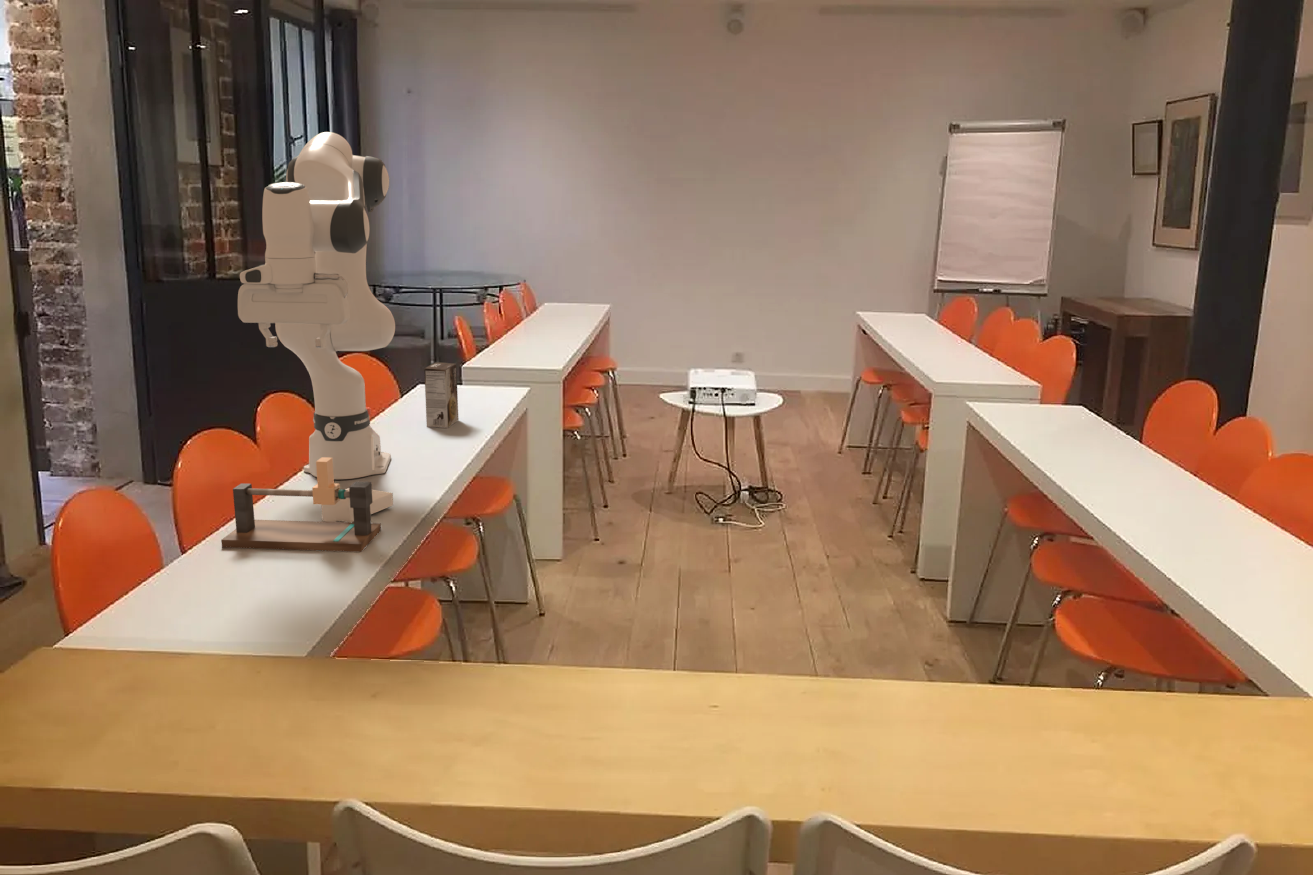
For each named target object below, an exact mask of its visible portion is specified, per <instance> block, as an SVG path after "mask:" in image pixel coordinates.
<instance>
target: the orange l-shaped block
mask: <svg viewBox="0 0 1313 875" xmlns="http://www.w3.org/2000/svg"><path fill="white" fill-rule="evenodd" d="M316 468H317V477H316V480H317V482H316V484H315V485H314V486H313V487H312V488H311V490H312V491H313V497H312V503H313V505H320V506H321V505H335V504H336V503H337V502H339V501H340V499H339V498H338V497H335V491H339V490H340V489H341V484H340V483H339V482H338V483H335V479H334V474H333V458H328V457H322V458H320V459H319V460H317V461H316Z"/></svg>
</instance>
